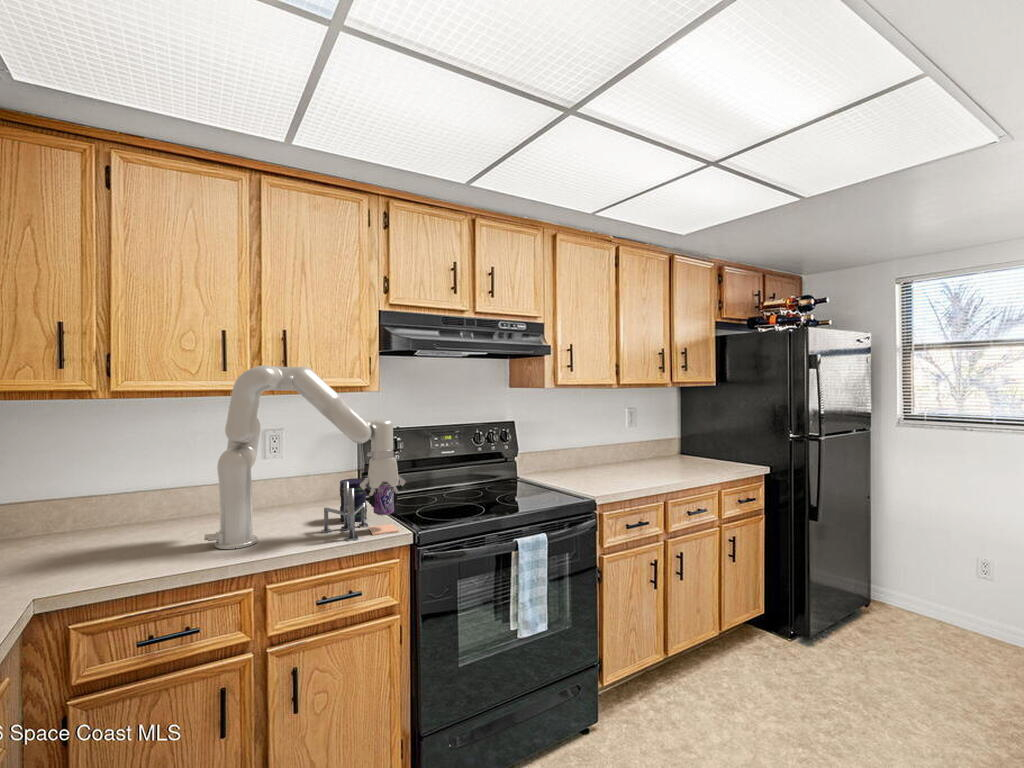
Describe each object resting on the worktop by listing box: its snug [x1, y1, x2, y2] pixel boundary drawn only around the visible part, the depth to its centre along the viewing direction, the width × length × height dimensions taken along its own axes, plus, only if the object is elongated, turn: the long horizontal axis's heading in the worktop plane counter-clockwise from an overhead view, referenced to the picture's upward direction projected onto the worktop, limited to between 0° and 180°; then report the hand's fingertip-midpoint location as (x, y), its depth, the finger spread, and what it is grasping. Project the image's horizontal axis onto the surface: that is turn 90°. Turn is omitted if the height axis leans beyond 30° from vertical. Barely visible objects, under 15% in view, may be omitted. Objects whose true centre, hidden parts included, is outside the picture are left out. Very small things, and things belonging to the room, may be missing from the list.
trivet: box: [367, 523, 400, 536], centre depth 189 cm, size 9×9×1 cm
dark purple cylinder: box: [339, 477, 368, 523], centre depth 203 cm, size 10×10×15 cm
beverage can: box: [372, 481, 395, 516], centre depth 188 cm, size 7×7×12 cm
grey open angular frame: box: [321, 481, 369, 542], centre depth 185 cm, size 16×17×17 cm
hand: (383, 504), depth 188 cm, fingers closed on beverage can, 6 cm apart
